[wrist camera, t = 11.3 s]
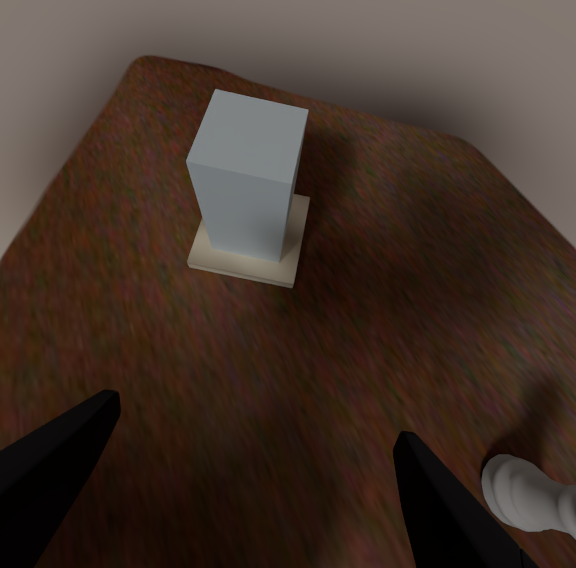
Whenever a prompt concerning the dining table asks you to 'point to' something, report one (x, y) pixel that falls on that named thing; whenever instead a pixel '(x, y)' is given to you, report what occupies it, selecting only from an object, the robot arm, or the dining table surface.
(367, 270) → the dining table surface
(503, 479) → the rook chess piece
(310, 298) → the dining table surface
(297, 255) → the post board
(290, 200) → the grey tall rectangular block
